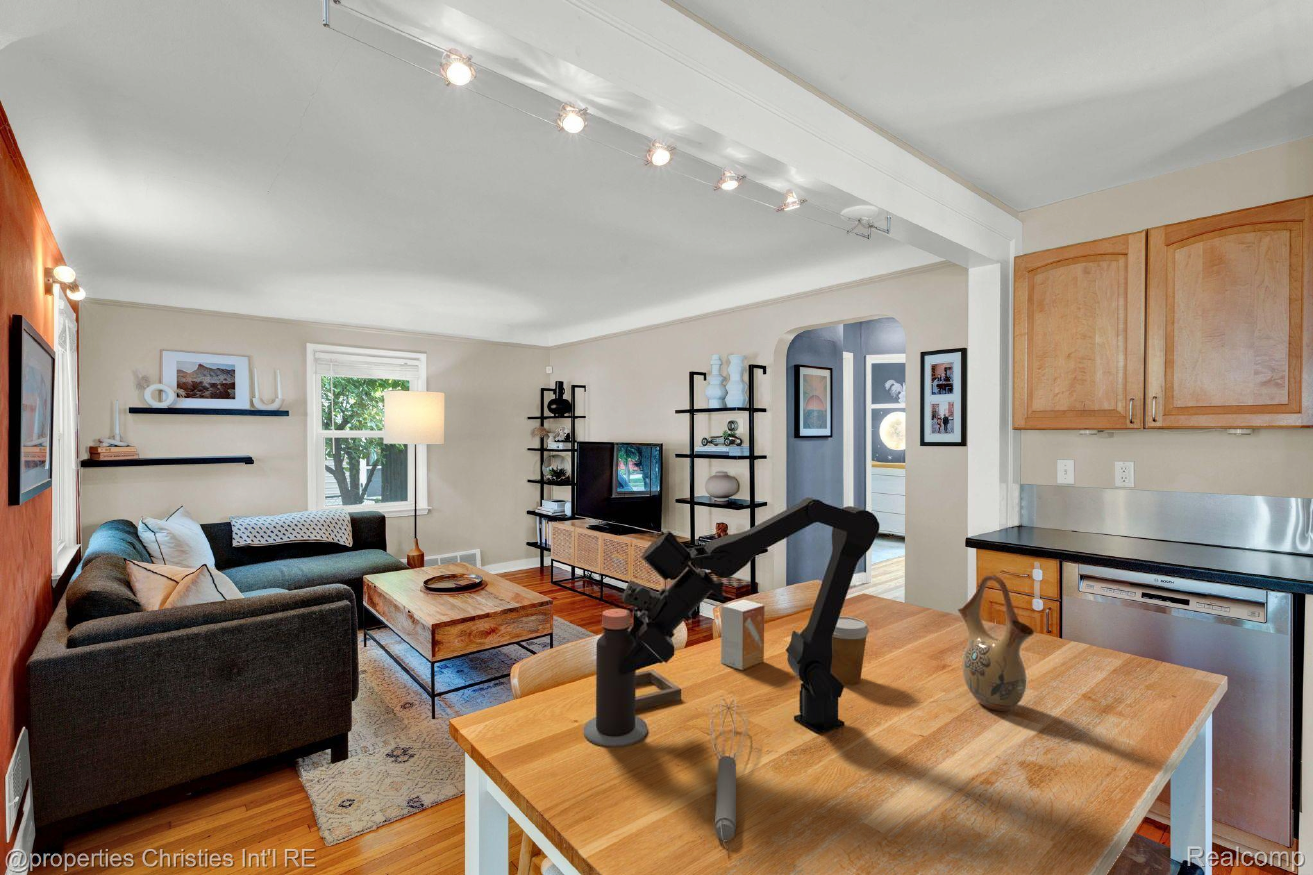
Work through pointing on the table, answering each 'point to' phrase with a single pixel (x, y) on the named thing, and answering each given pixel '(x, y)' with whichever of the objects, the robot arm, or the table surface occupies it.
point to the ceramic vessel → (994, 654)
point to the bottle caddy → (656, 698)
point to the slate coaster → (615, 741)
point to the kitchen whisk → (726, 786)
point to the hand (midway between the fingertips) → (619, 663)
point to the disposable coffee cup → (848, 649)
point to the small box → (742, 634)
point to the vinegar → (615, 675)
